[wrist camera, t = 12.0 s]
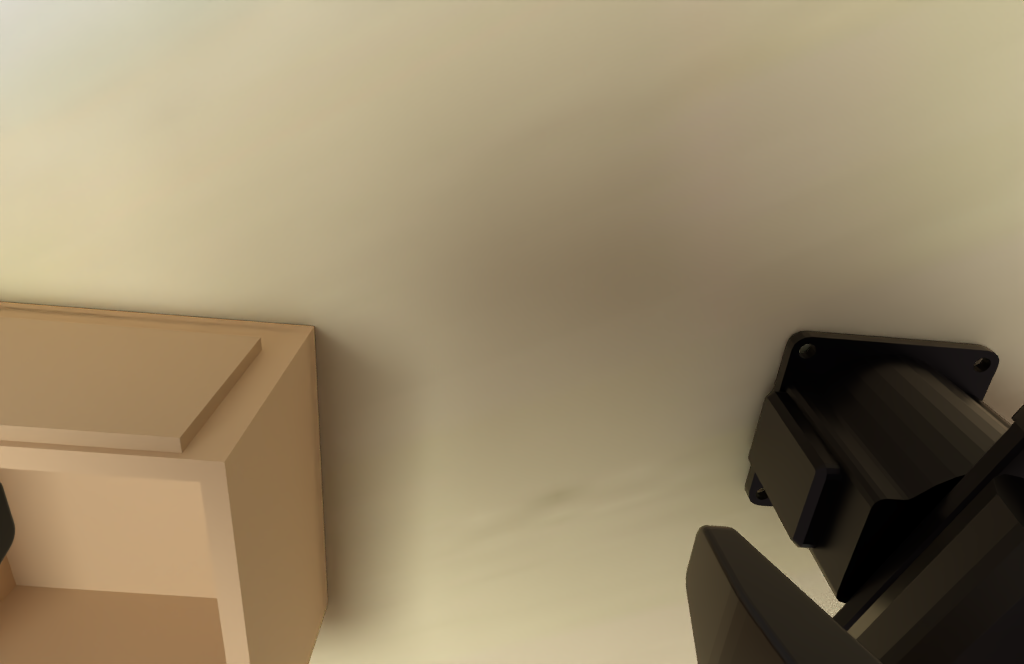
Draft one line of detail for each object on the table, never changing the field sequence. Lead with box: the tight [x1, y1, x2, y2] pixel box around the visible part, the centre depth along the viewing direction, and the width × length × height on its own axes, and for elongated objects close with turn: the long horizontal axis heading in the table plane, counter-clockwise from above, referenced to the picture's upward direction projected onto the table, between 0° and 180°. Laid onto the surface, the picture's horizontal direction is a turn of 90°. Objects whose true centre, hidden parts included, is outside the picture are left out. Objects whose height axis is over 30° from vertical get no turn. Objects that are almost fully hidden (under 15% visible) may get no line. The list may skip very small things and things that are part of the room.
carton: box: [0, 302, 328, 664], centre depth 20 cm, size 12×13×7 cm
